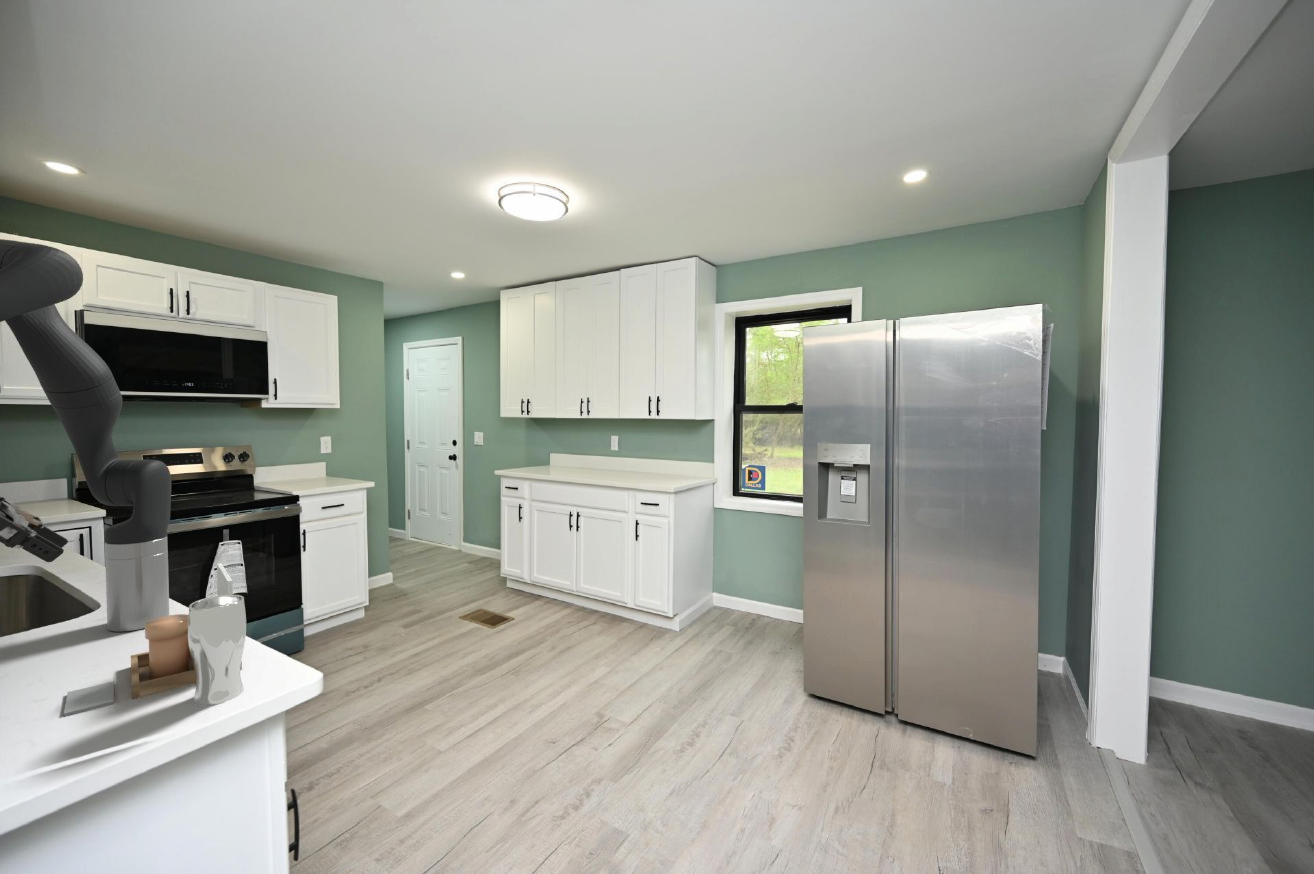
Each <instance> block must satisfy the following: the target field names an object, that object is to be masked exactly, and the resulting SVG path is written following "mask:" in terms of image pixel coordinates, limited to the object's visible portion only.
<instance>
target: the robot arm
mask: <svg viewBox="0 0 1314 874" xmlns="http://www.w3.org/2000/svg"><path fill="white" fill-rule="evenodd" d="M83 282H84V274H83V270H82V268H81V266H80V264H79V263H78V261H77V260H76V259H75V258H74V257H73V256H71V255H70V254H69V253H68V252H65V251H64V250H62V249H59V248H57V247H52V246H49V245H46V244H42V243H41V244H40V243H33V242H26V241H18V240H13V239H12V240H11V239H2V238H0V323H2V322H5V324H6V325H7V326H8V327H9V329H10V330H11V332H12V334H13V335H14V338H15V339H16V341H17V342H18V345H19V346H20V348H21V350H22V352H23V353H24V356H25V357H26V359H27V361H28V363H29V364H30V366H31V368H32V369H33V371H34V374H35V376H36V377H37V380H38V382H39V384H40V386H41V388H42V390H43V393H44V394H45V396H46V398H47V399H48V402H49V403H50V405H51V407H52V409H53V410H54V412H55V413H56V415H57V417H58V419H59V420H60V422H61V424H62V426H63V428H64V430H65V432H66V434H67V437H68V439H69V441H70V442H71V444H72V447H73V448H74V451H75V454H76V458H77V459H78V463H79V464H80V468H81V471H82V473H83V476H84V479H85V482H86V485H87V486H88V489H89V491H90V492H91V495H92V496H93V497H94V498H95V500H97V501H98V503H100V504H103V505H104V506H111V507H113V506H114V507H133V510H132V514H131V517H130V518H129V519H127V520H124V521H122V522H118V523H116V524H113V525H110V526H108V527H106V529H105V530H104V535H103V537H104V557H105V558H104V560H105V561H104V562H105V563H104V564H105V590H106V591H105V592H106V593H105V594H106V598H105V599H106V621H107V622H106V625H107V626H106V627H107V628H106V629H107V630H108V631H111V632H129V631H136V630H142V629H145V624H146V623H147V622H149V621H151V620H153V619H156V618H160V617H164V616H170V591H169V590H170V589H169V588H170V587H169V586H170V585H169V558H168V557H169V554H168V553H169V551H168V527H169V524H170V520H171V504H172V503H171V502H172V500H171V499H172V475H171V471H170V469H169V467H168V466H167V464H165V463H164V462H163V461H161V460H158V459H123V458H122V457H121V456H120V455H119V453H118V451H117V450H116V447H115V444H114V440H113V438H112V437H113V431H114V429H115V426H116V423H117V422H118V419H119V417H120V414H121V411H122V408H123V395H122V393H121V391H120V388H119V386H118V384H117V382H116V380H115V377H114V375H113V373H112V371H111V369H110V366H108V364H107V363H106V362H105V360H103V358H102V357H101V356H100V355H99V354H98V353H97V352H96V351H95V350H94V349H93V348H92V347H91V346H90V345H89V344H88V343H86V341H84V340H83V339H82V337H80V336H79V335H78V334H77V333H76V332H75V331H74V329H72V328H70V326H69V325H68V323H67V322H65V320H64V318H63V317H62V315H61V314H60V312H59V310H58V308H57V306H56V304H59V303H62V302H65V301H67V300H69V299H71V298H74V296H75V295H76V294H77V293H78V292H79V291H80V290H81V288H82V286H83ZM0 543H2V544H3V545H4V546H5V547H7V548H11V549H14V548H16V549H22V550H23V551H26V552H28V553H29V554H31V555H32V556H35V557H37V558H38V559H41V560H43V561H44V562H46V563H52V562H54V561H55V560H56V559H57V558H59V557H60V556H61V555H62V554H63V553H64V548H63V547H65V546H66V545H67V544H68V543H69V540H68V539H67V538H66V537H64V536H62V535H61V534H59V533H57V532H55V531H54V530H52V529H50V528H48V527H46V526H45V523H44V522H43V521H42V519H41V518H40V517H38V516H35V515H34V514H31V513H30V512H29V511H28V510H25V509H23V508H22V507H20V506H17V505H16V504H15V503H14V502H12V501H9V500H8V499H6V498H5V497H3V496H0Z"/></svg>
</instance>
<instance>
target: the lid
mask: <svg viewBox="0 0 1314 874" xmlns="http://www.w3.org/2000/svg"><path fill="white" fill-rule="evenodd" d="M216 577H217V578H216V579H217V580H216V583H217V586H216V587H217V589H216V590H217V596H221V595H234V594H233V593H234V592H233V591H234V590H233V587H234V585H233V579H232V578H231V576H230V575H229V573H228V572H227V570H226V569H225V567H224V565H223V564H222V562H219V563H218V562H217V563H216Z"/></svg>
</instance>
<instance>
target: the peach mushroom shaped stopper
mask: <svg viewBox="0 0 1314 874" xmlns="http://www.w3.org/2000/svg"><path fill="white" fill-rule="evenodd" d="M188 615H189V614H185V613H183V614H171V615H170V614H169V616H164V617H160V618H156V619H153V620H151V621H149V622H147V623H146V624H145V628H144V638H145V639H146V640H148V652H149V668H150V680H153V679H157V678H161V677H165V676H169V675H174V674H178V673H182V672H186V671H189V648H188V635H187V633H188Z"/></svg>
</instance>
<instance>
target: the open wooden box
mask: <svg viewBox="0 0 1314 874" xmlns="http://www.w3.org/2000/svg"><path fill="white" fill-rule="evenodd" d="M188 648H189V646H188ZM242 661H243V660H241V667H240V671H242V670H243V669H242V668H243V667H242ZM130 673H131V677H130V679H131V697H132V700H135V699H139V698H142V697H143V698H144V697H146V696H151V695H155V694H158V693H162V692H167V691H169V690H170V691H171V690H174V689H177V688H183V687H186V686H189V685H190V686H191V685H194V684H195V685H196V675H195V671H194V667H193V663H192V659H191V655H190V651H189V671H186V672H182V673H178V674H174V675H169V676H165V677H161V678H157V679H153V680H150V668H149V651H145V652H141V653H137V654H132V655H130Z"/></svg>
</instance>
